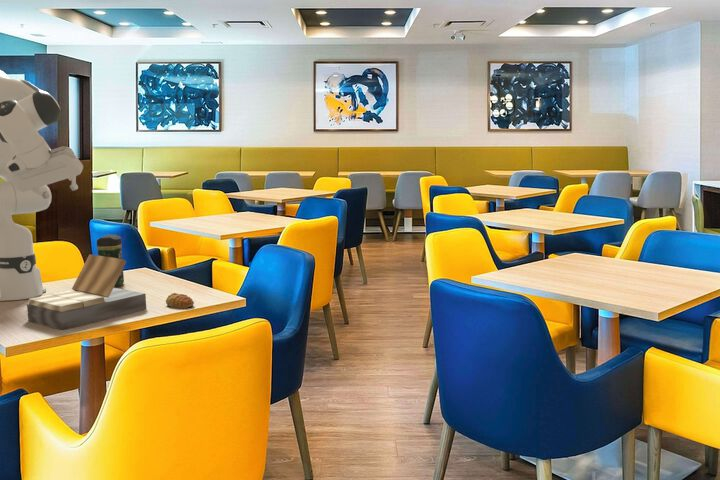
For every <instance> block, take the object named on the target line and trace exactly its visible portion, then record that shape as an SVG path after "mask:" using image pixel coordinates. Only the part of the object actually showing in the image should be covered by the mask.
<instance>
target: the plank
mask: <svg viewBox="0 0 720 480" xmlns="http://www.w3.org/2000/svg"><path fill="white" fill-rule="evenodd" d="M126 263H127V261H126V260H125V259H123V258H122V259H119V258H112V257H105V256H98V254H89V253H88V256H87V258H86V260H85V262H84V264H83V266H82V268H81V270H80V272H79V273H78V276H77V278H76V280H75V281H74V284H73V286H72V287H71V290H72V291H77V292H81V293H88V294H93V295H98V296H103V297H107V298H109V296H110V294H111V292H112V290H113V288H115V287H114V286H115V284H116V282H117V280H118V278H119V275H120V273H121V271H122V269H123V270H124V268H125V265H126Z"/></svg>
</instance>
